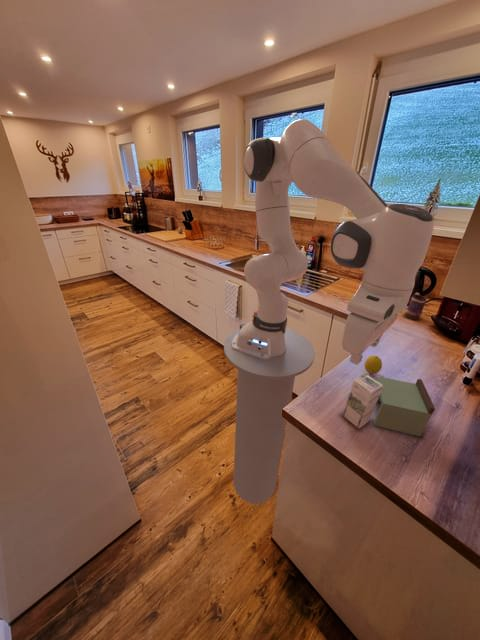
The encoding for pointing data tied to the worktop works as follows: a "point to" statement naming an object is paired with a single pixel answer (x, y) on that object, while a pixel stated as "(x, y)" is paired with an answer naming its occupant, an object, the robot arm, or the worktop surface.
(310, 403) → the worktop surface
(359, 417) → the syrup box
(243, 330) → the robot arm
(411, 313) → the mug
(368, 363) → the lemon
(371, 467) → the worktop surface
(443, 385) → the worktop surface
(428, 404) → the green side table
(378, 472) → the worktop surface
